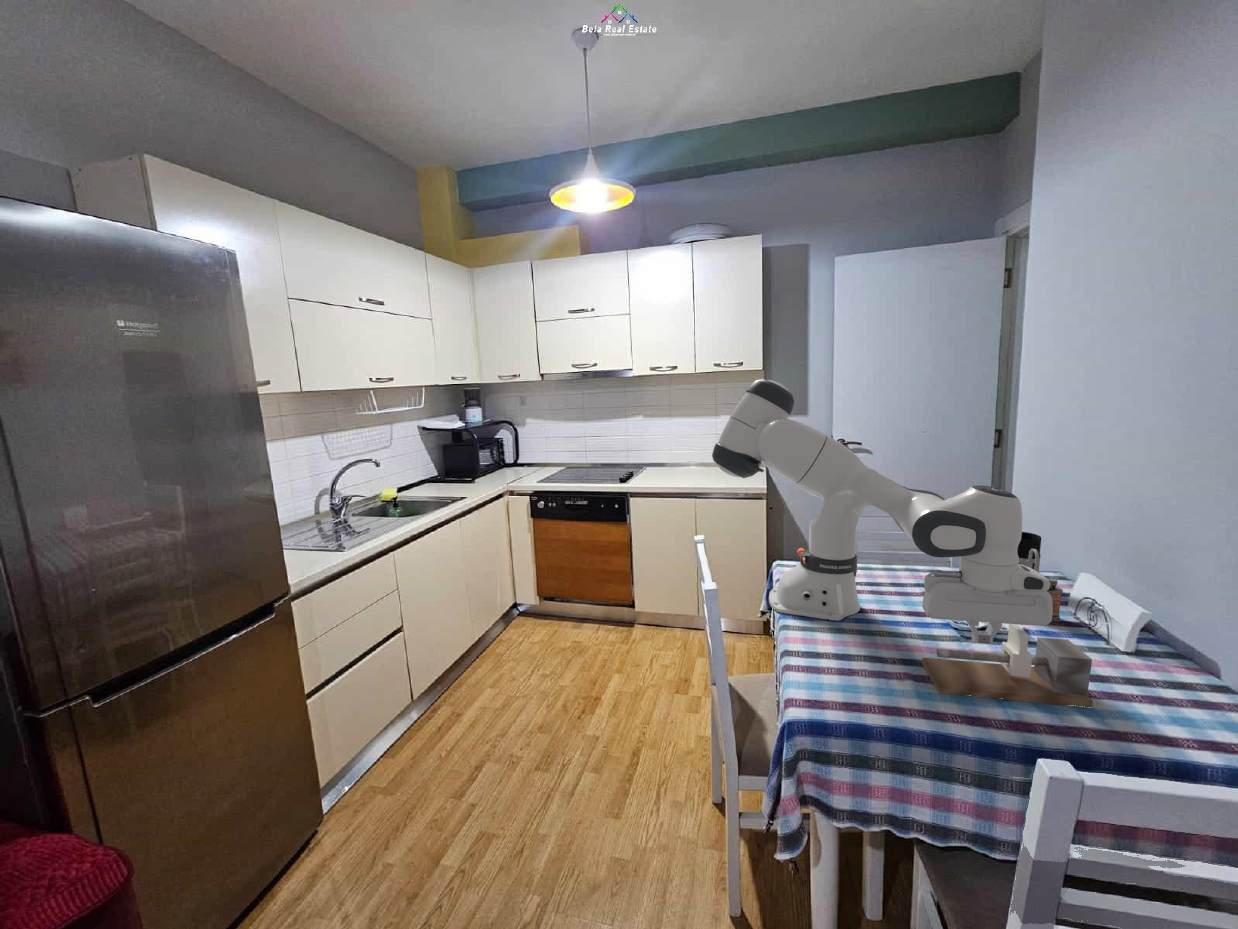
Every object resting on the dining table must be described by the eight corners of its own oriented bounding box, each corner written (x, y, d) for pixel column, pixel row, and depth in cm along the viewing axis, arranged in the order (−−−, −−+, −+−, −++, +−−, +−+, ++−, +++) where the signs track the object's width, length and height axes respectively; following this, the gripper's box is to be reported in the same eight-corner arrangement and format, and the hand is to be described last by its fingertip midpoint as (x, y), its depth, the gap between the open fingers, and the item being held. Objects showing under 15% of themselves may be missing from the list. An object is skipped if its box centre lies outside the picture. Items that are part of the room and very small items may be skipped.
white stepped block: (1011, 675, 95) (1015, 633, 94) (1000, 662, 99) (1003, 622, 98) (1030, 677, 94) (1034, 635, 93) (1017, 664, 99) (1022, 623, 97)
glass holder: (1031, 583, 141) (1036, 531, 138) (1054, 606, 128) (1060, 548, 125) (993, 580, 144) (998, 529, 141) (1012, 602, 131) (1017, 546, 128)
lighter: (1052, 614, 124) (1057, 575, 122) (1063, 621, 120) (1067, 581, 119) (1017, 614, 124) (1020, 575, 123) (1026, 621, 121) (1030, 581, 119)
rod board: (939, 693, 96) (942, 651, 95) (922, 664, 106) (924, 626, 104) (1091, 708, 90) (1097, 664, 89) (1058, 676, 100) (1063, 635, 98)
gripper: (930, 576, 94) (926, 645, 97) (1061, 582, 89) (1053, 655, 92) (919, 563, 100) (915, 629, 103) (1041, 569, 95) (1034, 637, 98)
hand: (981, 641), depth 97 cm, fingers closed
